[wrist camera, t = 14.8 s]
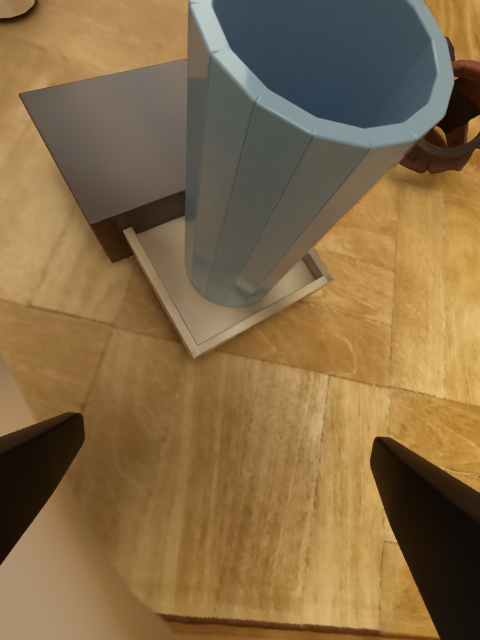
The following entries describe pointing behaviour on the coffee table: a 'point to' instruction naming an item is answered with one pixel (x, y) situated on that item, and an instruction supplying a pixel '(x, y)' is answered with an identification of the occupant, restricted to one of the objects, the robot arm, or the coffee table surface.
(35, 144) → the coffee table surface
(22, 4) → the cup
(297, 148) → the tall blue mug
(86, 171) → the walnut box
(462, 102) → the brown hollow shell
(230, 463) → the coffee table surface
